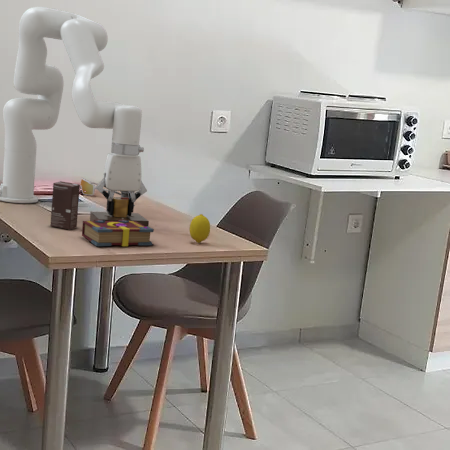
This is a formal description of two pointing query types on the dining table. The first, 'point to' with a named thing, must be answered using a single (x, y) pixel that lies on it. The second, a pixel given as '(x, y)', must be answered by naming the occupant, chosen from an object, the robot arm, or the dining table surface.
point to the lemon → (199, 228)
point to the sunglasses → (90, 187)
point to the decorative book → (116, 233)
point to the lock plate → (107, 217)
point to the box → (65, 205)
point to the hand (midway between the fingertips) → (119, 214)
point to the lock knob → (120, 207)
